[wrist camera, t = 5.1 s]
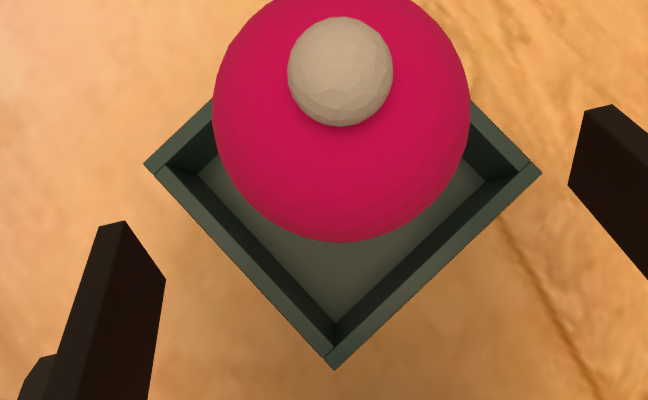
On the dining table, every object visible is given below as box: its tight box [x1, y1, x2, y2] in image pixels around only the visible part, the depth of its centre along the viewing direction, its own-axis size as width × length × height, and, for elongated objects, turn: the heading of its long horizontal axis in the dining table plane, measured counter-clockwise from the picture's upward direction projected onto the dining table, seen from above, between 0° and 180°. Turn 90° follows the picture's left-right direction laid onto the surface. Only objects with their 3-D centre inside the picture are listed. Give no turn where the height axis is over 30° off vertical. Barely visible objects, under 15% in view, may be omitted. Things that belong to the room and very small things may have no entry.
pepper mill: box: [212, 0, 470, 243], centre depth 17 cm, size 7×7×20 cm
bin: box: [143, 99, 542, 370], centre depth 24 cm, size 14×14×6 cm
